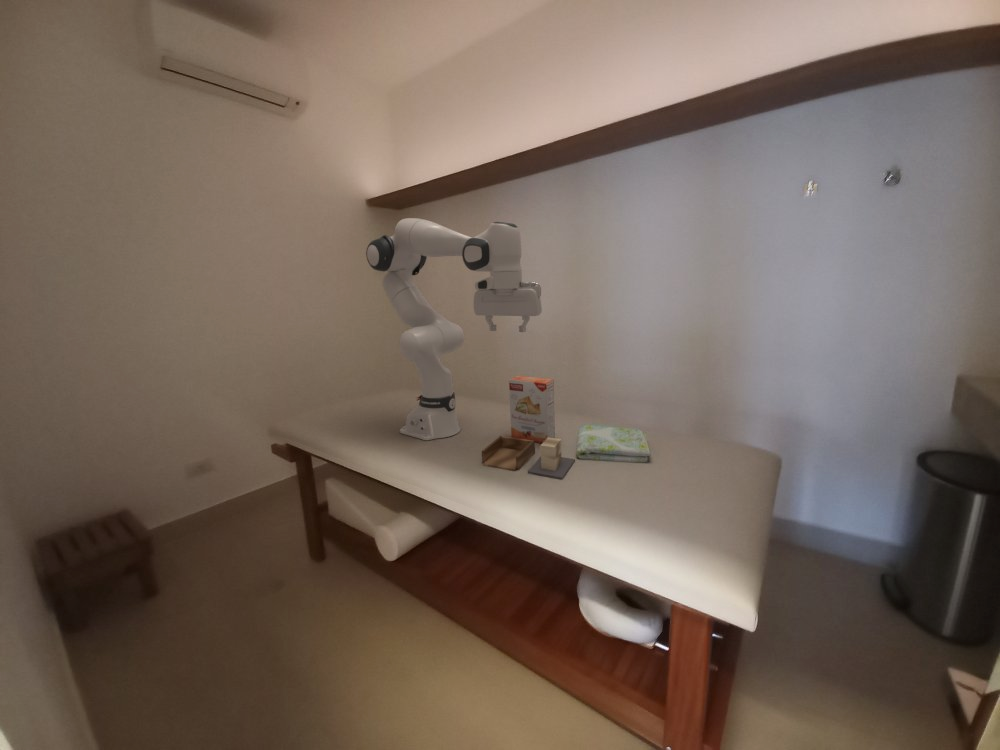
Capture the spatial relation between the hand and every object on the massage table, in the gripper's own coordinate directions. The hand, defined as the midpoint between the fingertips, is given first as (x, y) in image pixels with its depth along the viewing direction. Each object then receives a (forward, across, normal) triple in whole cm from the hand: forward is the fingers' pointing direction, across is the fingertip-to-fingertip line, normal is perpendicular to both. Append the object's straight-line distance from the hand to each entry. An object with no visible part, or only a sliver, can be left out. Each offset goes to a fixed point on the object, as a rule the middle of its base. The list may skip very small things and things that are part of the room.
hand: (507, 331), depth 115 cm
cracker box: (+38, -2, -13) cm, 41 cm away
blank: (+37, -15, +5) cm, 40 cm away
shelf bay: (+38, -1, +5) cm, 38 cm away
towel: (+38, -28, -14) cm, 49 cm away
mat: (+38, -15, +5) cm, 41 cm away
